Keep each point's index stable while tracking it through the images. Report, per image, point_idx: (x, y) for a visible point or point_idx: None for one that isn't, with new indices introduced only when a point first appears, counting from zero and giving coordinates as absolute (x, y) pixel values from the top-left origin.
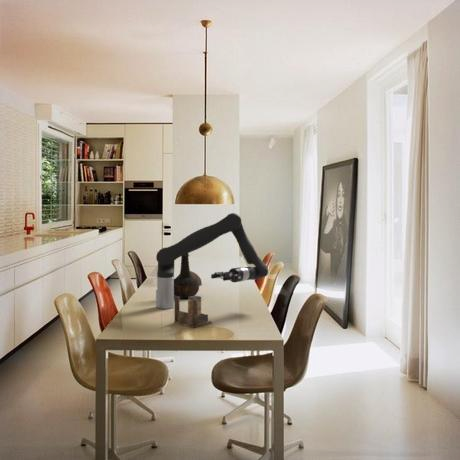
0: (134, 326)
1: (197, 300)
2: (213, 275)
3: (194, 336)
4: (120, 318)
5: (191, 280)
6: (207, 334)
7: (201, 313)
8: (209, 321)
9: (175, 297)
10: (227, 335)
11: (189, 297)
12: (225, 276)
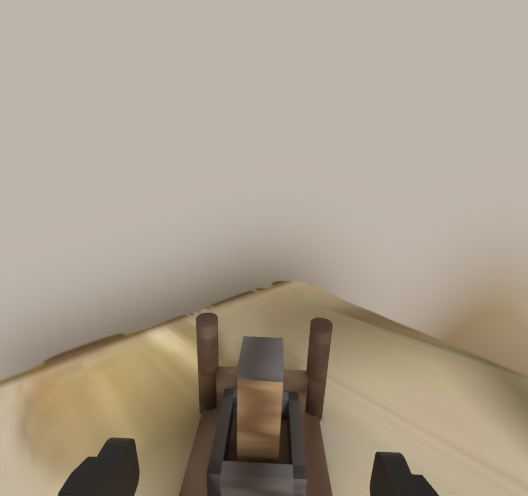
0: (345, 331)
1: (196, 319)
2: (386, 492)
3: (153, 348)
4: (460, 352)
5: None
6: (124, 376)
7: (256, 474)
8: (191, 491)
9: (318, 319)
10: (45, 402)
11: (272, 338)
12: (93, 466)
